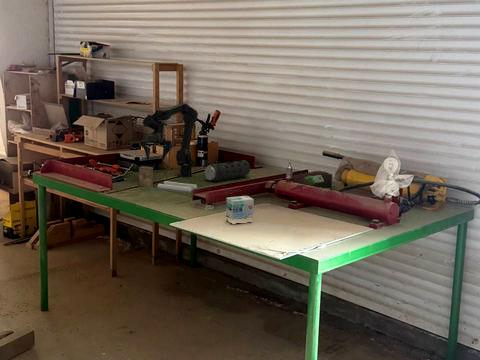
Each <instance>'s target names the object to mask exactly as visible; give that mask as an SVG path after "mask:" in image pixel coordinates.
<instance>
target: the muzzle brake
mask: <svg viewBox="0 0 480 360" xmlns="http://www.w3.org/2000/svg"><path fill="white" fill-rule="evenodd" d="M250 171H251V165H250V163H249V161H247V160H246V159H243V160H236V161H229V162H223V163H222V162H221V163H212V164H209V165H207V166H206V167H205V169H204V175H205V178H206V179H207V180H208V181H212V182H214V181H216V182H221V181H220V180H222V181H223V180H226V179H229V178H231V179H236V178H235V177H239V178H242V177H241V176H248V175H249V174H250Z"/></svg>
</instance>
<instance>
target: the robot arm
mask: <svg viewBox="0 0 480 360" xmlns="http://www.w3.org/2000/svg"><path fill="white" fill-rule="evenodd" d="M179 113H180V115H182V120H183V122H184V125H183V132H182V139H181V144H180V145H181V146H180V148H179V150H176V156H175V160H176V164H177V166H179V168H178V176H179V177H182V178H189V177H193V174H192V167H194V165H195V161H194V160H193V159H192V153H191V150H190V148H191V141H192V140H191V139H192V135H193V128H194V125H195V123H196V122H197V120H198V116H199V113H198V111H197V110H196V109H194V108H193V107H191V106H190V105H189V104H188V103H185V102H180V103H178V104H176V105H173V106H170V107H168V108H158V109H155V111H154V113H152V114H147V116H145V117H144V119H143V120H142V125H143V126H144V127H146V128H148V129H150V130H152V132H151V134H147V135H146V140H140V141H139V147H141V149H142V148H143V150H144V152H145V157H146V160H147V161H149V159H150V156H151V155H150V154H151V150H152V148H151V147H161V146H162V156H161V157H162V158H161V159H162V161H163V160H165V158H166V157H167V155H168V153H169V152H170V150H172V149H174V148H175V142H174V141H172V140H169V139H167V140H163V139H164V137H165V133H164V132H165V127H166V126H167V125H168V124H167V122H166V121H169V119H171V117H172V116H174V115H176V114H179Z"/></svg>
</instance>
